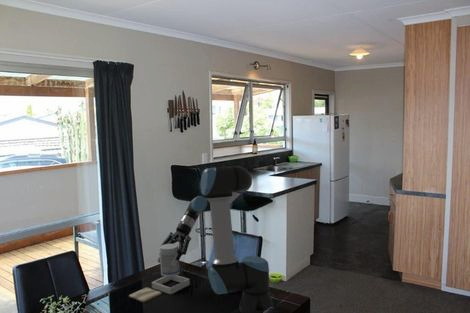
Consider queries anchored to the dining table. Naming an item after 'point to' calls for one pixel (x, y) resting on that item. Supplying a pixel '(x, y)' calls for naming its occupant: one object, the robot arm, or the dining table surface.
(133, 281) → the dining table surface
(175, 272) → the supplement tub
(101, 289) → the dining table surface
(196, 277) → the dining table surface
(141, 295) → the birch board
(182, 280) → the grey square frame
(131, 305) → the dining table surface
